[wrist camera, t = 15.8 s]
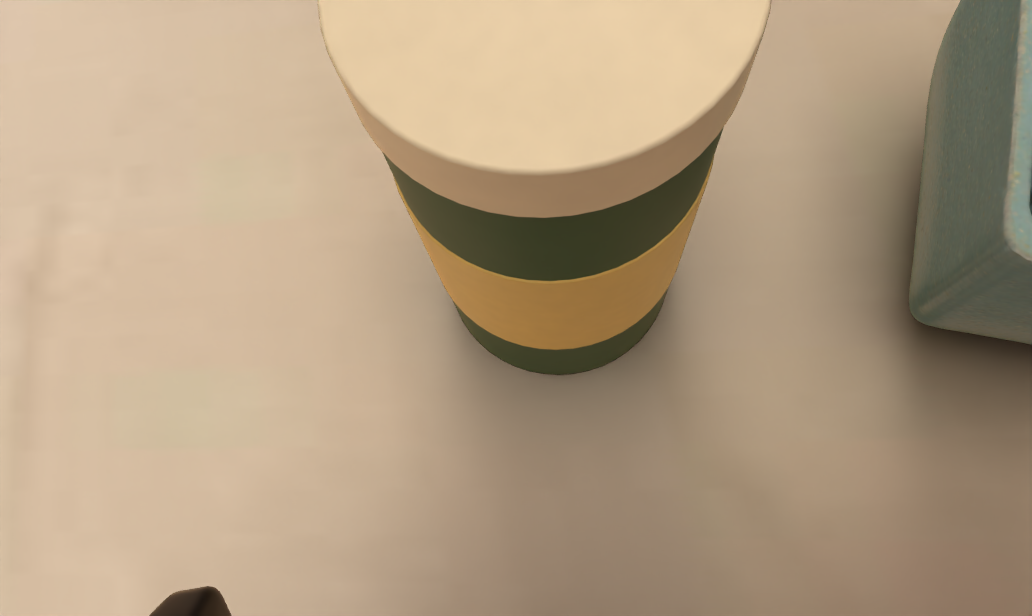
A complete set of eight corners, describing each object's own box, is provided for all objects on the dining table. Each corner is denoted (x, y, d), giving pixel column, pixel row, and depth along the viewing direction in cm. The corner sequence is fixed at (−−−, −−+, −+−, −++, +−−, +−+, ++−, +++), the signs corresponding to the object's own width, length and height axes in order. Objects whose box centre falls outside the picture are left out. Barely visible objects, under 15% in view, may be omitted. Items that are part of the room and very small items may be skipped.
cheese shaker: (676, 378, 22) (797, 167, 10) (443, 379, 22) (295, 179, 11) (665, 166, 24) (754, -219, 12) (451, 171, 24) (333, -194, 13)
